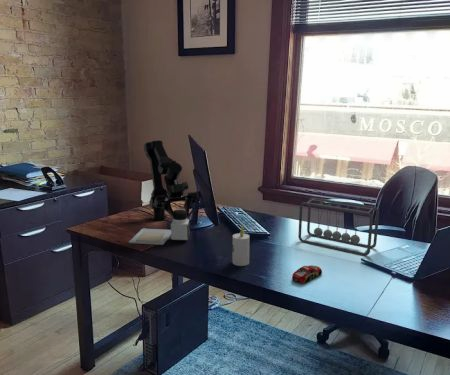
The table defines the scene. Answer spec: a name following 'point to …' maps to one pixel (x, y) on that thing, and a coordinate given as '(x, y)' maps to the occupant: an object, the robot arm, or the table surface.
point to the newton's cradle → (336, 235)
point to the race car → (306, 273)
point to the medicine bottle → (180, 225)
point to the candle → (241, 248)
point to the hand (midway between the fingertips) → (181, 216)
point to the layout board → (151, 236)
